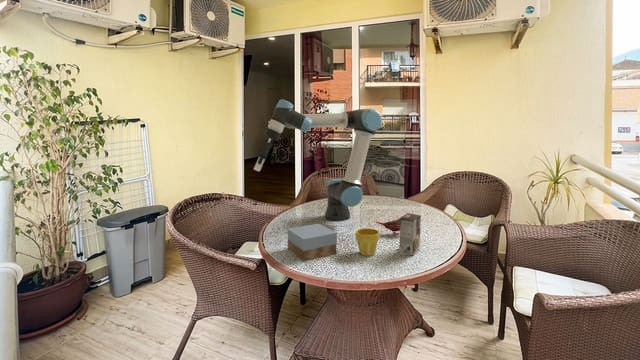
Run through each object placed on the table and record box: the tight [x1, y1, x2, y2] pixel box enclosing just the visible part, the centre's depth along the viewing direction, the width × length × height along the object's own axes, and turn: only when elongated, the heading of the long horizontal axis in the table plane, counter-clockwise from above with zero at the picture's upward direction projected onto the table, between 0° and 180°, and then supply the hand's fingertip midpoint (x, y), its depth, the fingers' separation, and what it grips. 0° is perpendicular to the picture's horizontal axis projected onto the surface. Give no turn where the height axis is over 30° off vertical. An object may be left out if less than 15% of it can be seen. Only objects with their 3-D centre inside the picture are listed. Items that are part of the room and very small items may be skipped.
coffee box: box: [398, 212, 422, 256], centre depth 151 cm, size 9×6×16 cm
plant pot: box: [354, 227, 381, 257], centre depth 150 cm, size 10×10×10 cm
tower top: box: [287, 223, 338, 251], centre depth 152 cm, size 16×16×5 cm
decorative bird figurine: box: [375, 215, 404, 235], centre depth 174 cm, size 3×18×10 cm, turn 80°
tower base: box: [287, 239, 337, 262], centre depth 153 cm, size 16×16×5 cm
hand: (256, 170), depth 169 cm, fingers open, 13 cm apart
